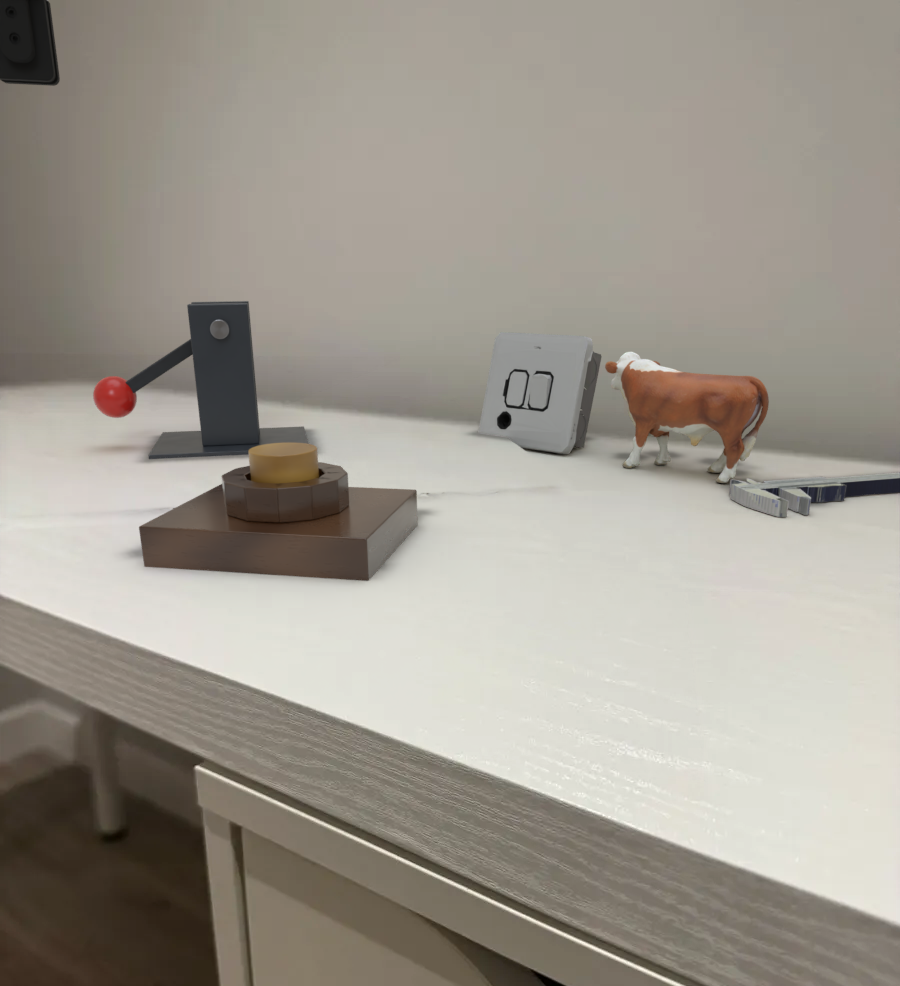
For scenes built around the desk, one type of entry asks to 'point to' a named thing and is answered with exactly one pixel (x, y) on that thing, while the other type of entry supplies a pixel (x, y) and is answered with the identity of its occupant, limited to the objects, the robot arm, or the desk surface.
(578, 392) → the electrical switch
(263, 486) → the block
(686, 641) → the desk surface
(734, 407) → the bull figurine
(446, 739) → the desk surface
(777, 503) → the caliper
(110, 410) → the lever
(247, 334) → the switch bracket
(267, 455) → the button
